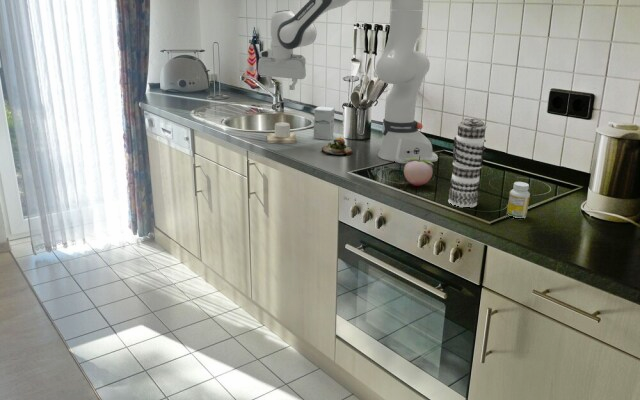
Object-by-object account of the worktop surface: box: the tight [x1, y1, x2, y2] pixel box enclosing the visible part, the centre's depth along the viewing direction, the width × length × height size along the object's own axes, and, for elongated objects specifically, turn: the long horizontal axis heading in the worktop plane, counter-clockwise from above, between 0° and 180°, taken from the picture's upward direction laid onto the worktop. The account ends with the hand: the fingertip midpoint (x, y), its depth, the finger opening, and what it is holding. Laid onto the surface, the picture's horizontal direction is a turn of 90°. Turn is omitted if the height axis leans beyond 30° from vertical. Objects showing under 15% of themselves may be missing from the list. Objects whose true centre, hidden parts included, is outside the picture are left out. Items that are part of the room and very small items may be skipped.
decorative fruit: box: [403, 156, 435, 187], centre depth 179 cm, size 9×8×10 cm
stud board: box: [266, 132, 298, 144], centre depth 233 cm, size 12×12×4 cm
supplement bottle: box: [506, 181, 531, 219], centre depth 157 cm, size 5×5×10 cm
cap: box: [274, 121, 291, 138], centre depth 233 cm, size 6×6×5 cm
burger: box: [321, 133, 353, 157], centre depth 216 cm, size 12×12×8 cm
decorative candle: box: [447, 118, 488, 208], centre depth 164 cm, size 9×9×25 cm
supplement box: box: [313, 106, 336, 141], centre depth 237 cm, size 7×7×13 cm
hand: (281, 88), depth 227 cm, fingers open, 8 cm apart
